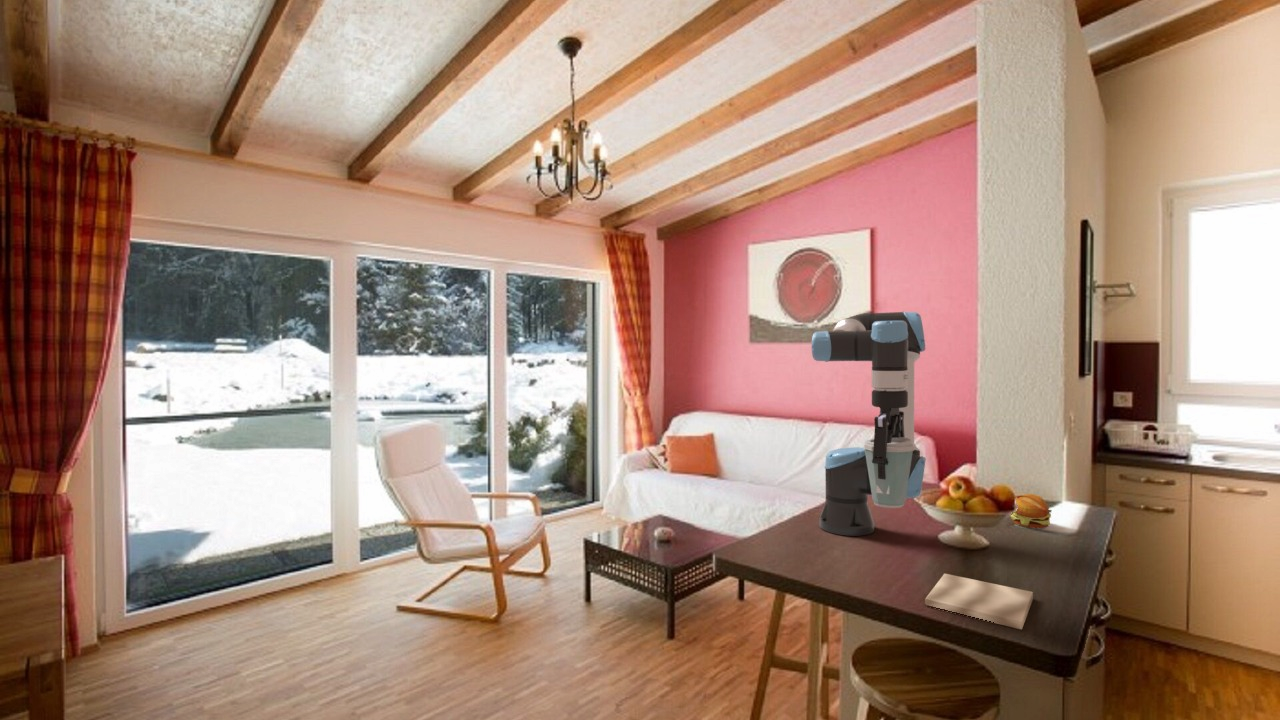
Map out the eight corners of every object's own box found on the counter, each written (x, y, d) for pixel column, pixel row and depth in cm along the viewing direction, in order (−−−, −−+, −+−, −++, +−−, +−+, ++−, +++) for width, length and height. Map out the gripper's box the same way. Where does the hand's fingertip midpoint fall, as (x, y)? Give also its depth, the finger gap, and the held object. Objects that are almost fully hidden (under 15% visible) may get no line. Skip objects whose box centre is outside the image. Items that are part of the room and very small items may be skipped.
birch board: (925, 605, 125) (925, 598, 125) (944, 579, 138) (944, 573, 138) (1021, 629, 114) (1021, 621, 114) (1032, 599, 127) (1032, 592, 127)
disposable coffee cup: (872, 511, 131) (871, 442, 130) (856, 498, 142) (856, 434, 141) (922, 511, 130) (922, 442, 130) (902, 498, 141) (902, 434, 141)
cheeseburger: (1050, 521, 180) (1051, 491, 177) (1051, 540, 171) (1053, 508, 169) (1010, 516, 185) (1011, 486, 183) (1010, 534, 177) (1010, 503, 174)
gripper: (892, 393, 125) (892, 501, 126) (920, 386, 142) (920, 482, 143) (856, 392, 130) (856, 496, 131) (887, 385, 147) (887, 478, 147)
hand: (889, 488), depth 137 cm, fingers open, 9 cm apart
